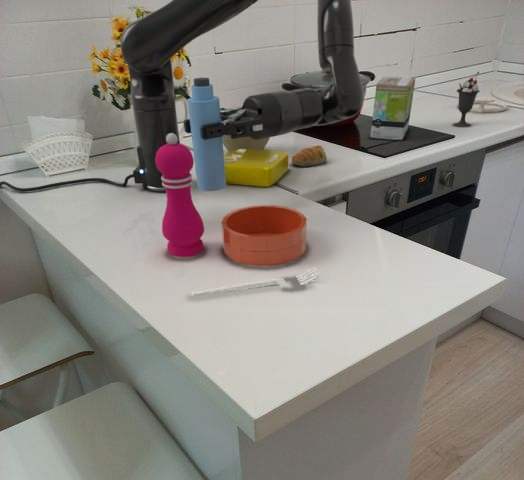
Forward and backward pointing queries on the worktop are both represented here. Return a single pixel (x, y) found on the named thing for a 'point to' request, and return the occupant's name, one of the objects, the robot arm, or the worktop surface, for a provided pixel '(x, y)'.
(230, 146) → the planter bowl
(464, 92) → the sundae
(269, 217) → the pot
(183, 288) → the worktop surface
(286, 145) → the worktop surface
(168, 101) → the robot arm
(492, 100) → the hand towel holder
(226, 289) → the fork
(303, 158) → the pastry
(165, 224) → the pepper mill
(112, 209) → the worktop surface
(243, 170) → the element tile
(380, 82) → the tea box
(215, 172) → the bottle
